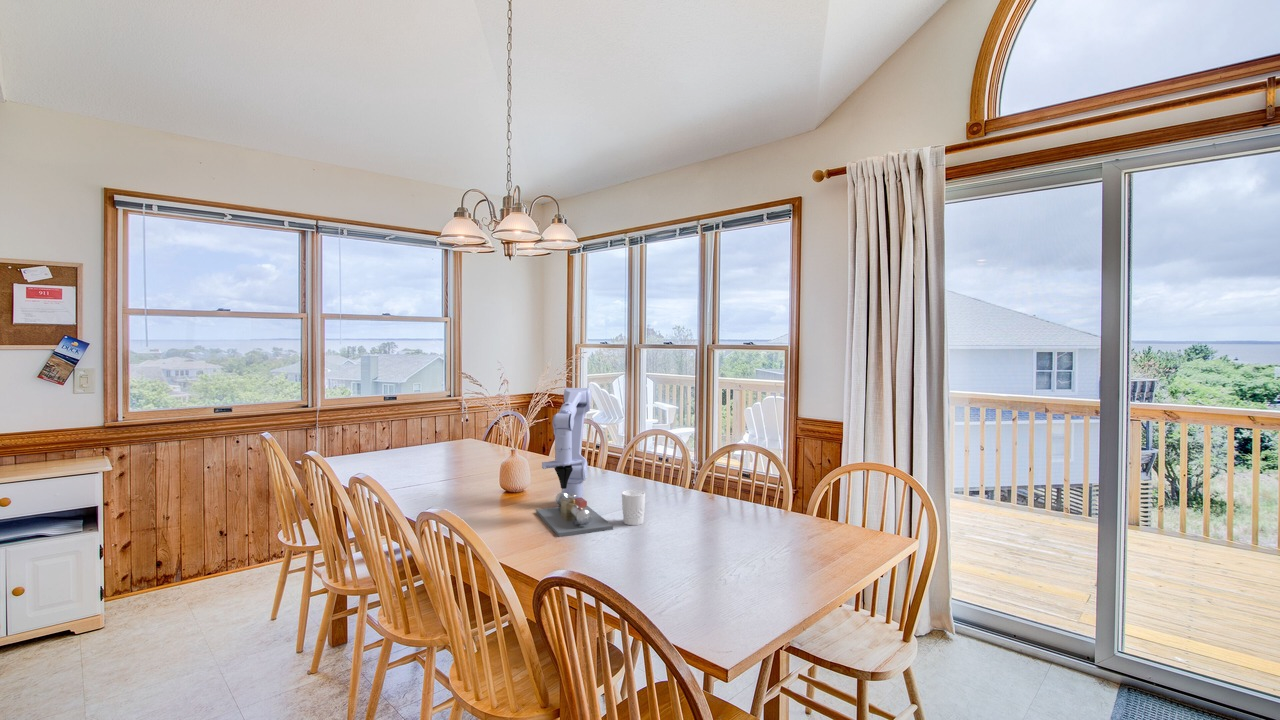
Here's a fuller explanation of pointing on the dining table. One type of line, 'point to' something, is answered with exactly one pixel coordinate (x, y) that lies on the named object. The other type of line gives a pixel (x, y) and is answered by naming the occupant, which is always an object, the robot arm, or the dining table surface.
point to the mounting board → (566, 527)
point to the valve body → (572, 510)
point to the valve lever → (578, 500)
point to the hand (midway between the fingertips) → (563, 488)
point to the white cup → (633, 507)
